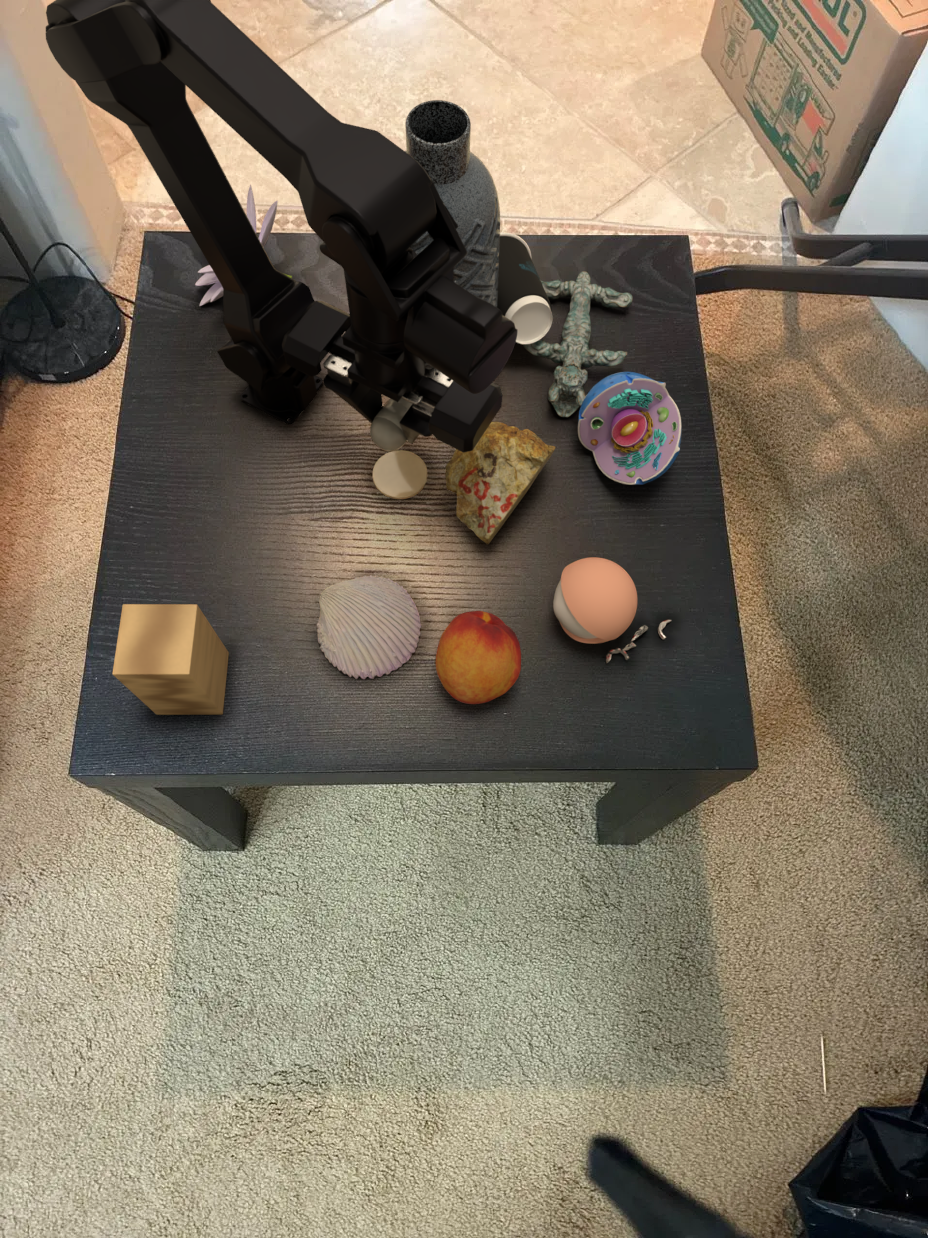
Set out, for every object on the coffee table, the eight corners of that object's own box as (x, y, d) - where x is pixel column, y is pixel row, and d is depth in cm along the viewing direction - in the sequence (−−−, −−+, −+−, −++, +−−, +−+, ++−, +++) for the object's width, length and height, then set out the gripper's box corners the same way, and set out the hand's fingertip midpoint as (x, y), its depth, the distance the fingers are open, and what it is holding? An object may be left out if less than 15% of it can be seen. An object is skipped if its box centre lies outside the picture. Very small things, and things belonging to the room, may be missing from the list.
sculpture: (508, 416, 91) (513, 381, 87) (531, 291, 101) (536, 254, 97) (615, 432, 91) (625, 398, 87) (628, 305, 100) (637, 269, 96)
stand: (156, 715, 79) (111, 674, 68) (164, 652, 81) (122, 603, 70) (223, 714, 79) (189, 674, 68) (229, 652, 81) (197, 603, 70)
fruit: (536, 667, 81) (546, 636, 74) (479, 730, 79) (484, 704, 72) (473, 615, 83) (476, 580, 76) (415, 675, 81) (413, 644, 73)
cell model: (633, 520, 88) (582, 477, 81) (596, 440, 95) (547, 395, 88) (719, 462, 84) (673, 411, 77) (674, 383, 90) (628, 330, 84)
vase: (412, 299, 97) (402, 50, 71) (512, 337, 96) (539, 97, 69) (362, 379, 93) (332, 146, 67) (465, 421, 91) (476, 199, 65)
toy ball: (537, 588, 84) (546, 551, 77) (612, 571, 85) (629, 533, 78) (561, 664, 81) (573, 633, 74) (639, 645, 82) (658, 613, 75)
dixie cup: (497, 366, 91) (466, 308, 98) (568, 344, 92) (533, 288, 98) (489, 300, 85) (457, 243, 91) (566, 277, 85) (528, 222, 92)
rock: (496, 548, 91) (498, 551, 81) (424, 507, 91) (417, 505, 81) (553, 449, 90) (562, 440, 80) (480, 407, 90) (480, 393, 80)
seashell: (347, 542, 82) (433, 583, 79) (361, 573, 87) (443, 613, 83) (281, 625, 79) (369, 673, 75) (300, 653, 83) (383, 699, 80)
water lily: (312, 200, 99) (242, 153, 94) (336, 255, 90) (259, 206, 84) (249, 305, 106) (180, 266, 100) (264, 367, 96) (188, 328, 91)
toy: (680, 629, 82) (668, 611, 83) (612, 667, 80) (600, 647, 81) (675, 633, 84) (663, 615, 84) (608, 670, 81) (596, 651, 82)
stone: (397, 464, 81) (395, 442, 78) (364, 447, 81) (361, 425, 78) (427, 420, 83) (427, 397, 79) (395, 404, 83) (393, 381, 80)
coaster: (362, 484, 88) (361, 481, 88) (390, 443, 90) (390, 441, 90) (409, 508, 87) (409, 506, 87) (437, 467, 89) (437, 464, 89)
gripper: (542, 293, 68) (523, 411, 83) (340, 200, 71) (356, 330, 86) (473, 394, 65) (466, 499, 79) (263, 292, 68) (294, 412, 82)
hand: (395, 431), depth 82 cm, fingers closed on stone, 3 cm apart
